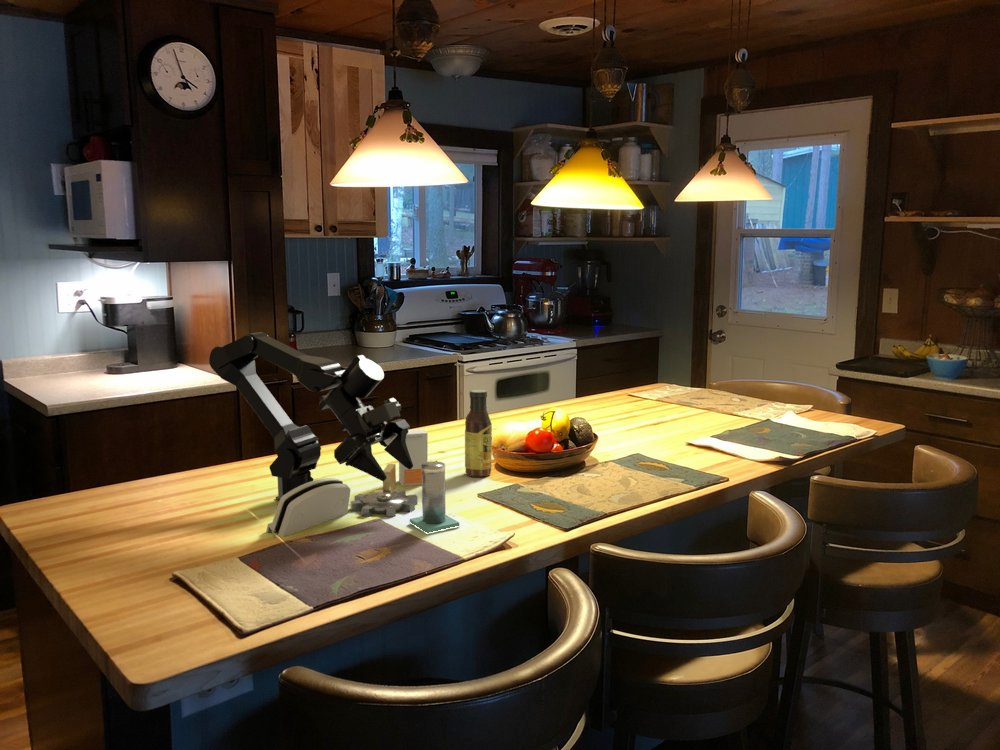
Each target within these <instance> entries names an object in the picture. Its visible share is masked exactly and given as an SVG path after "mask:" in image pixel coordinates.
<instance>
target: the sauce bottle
mask: <svg viewBox="0 0 1000 750" xmlns="http://www.w3.org/2000/svg"><path fill="white" fill-rule="evenodd" d="M487 397H488V391H487V389H486V390H485V389H472V390H469V399H470V401H469V402H470V405H469V409H470V410H469V412H468V413H467V415H466V416H465V422H464V423H465V430H464V467H465V474H466V475H467V476H469V477H473V478H474V477H475V478H482V477H486V476H489V475H491V473H492V467H493V466H492V457H493V456H492V448H493V446H492V444H493V443H492V442H493V441H492V436H493V435H492V429H493V427H492V421H491V419H490V416H489V413H488V409H487V408H488V407H487Z"/></svg>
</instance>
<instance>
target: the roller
mask: <svg viewBox="0 0 1000 750" xmlns="http://www.w3.org/2000/svg"><path fill="white" fill-rule="evenodd" d="M421 471H422V484H421V497H422V498H421V499H422V501H421V504H422V505H421V506H422V509H421V511H422V516H423V522H425V523H429V524H438V523H442V522H444V521H445V520H446V515H447V514H446V463H445V462H442V461H428V462H425V463H423V464H422V467H421Z"/></svg>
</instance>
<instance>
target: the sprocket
mask: <svg viewBox="0 0 1000 750" xmlns="http://www.w3.org/2000/svg"><path fill="white" fill-rule="evenodd" d="M396 468H397V467H396V463H387V465H386V466H385V468H384V469H382V470H383V471H384V473H385V475H386V477H387V479H386V480H385V481H382V489H375V490H373V493H368V494H364V493H358V494H356V495H354V497H353V498H354V500H349V504H350V510H351V512H354V511H355V512H356V511H361V512H360V513H361V516H364V517H368V518H369V517H371V516H372V515H385V516H386V518H388V517H389V518H390V517H396V515H397V514H396V513H400V512H406V513H409V512H408V511H411V512H413V511H414V510H415V509H416V505H418V496H417V495H416V494H409V495H407V494H406V493H407V492H406V490H401V489H397V490H395V489H396V488H397V487H396V486H397V479H396V478H397V477H396V476H397V475H396V474H397V473H396V472H397V471H396V470H397V469H396ZM394 490H395V491H394ZM412 510H413V511H412Z"/></svg>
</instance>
